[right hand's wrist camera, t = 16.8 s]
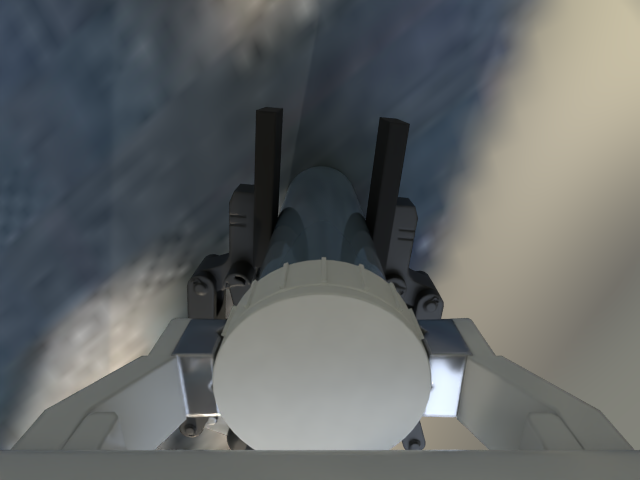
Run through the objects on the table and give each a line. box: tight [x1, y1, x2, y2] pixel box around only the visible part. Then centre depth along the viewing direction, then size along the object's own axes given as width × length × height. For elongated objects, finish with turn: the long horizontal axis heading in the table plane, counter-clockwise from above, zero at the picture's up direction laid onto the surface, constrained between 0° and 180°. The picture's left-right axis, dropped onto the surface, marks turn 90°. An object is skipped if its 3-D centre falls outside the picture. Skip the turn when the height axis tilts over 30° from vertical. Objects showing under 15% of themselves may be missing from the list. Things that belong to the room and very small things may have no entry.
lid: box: [212, 257, 432, 450], centre depth 9 cm, size 5×5×2 cm
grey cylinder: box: [256, 166, 388, 283], centre depth 16 cm, size 4×4×16 cm
